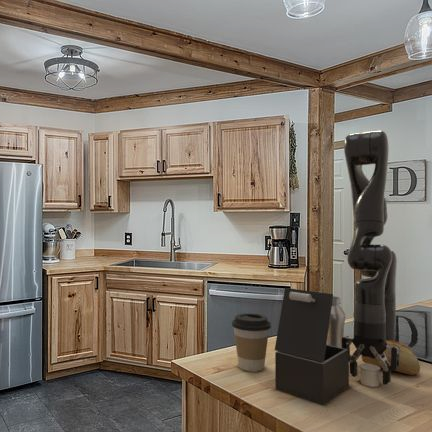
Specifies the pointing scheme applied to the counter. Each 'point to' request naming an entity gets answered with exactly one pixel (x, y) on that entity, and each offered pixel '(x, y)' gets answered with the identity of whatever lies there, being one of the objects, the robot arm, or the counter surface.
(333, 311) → the plastic bottle
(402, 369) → the bread roll
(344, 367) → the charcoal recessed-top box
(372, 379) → the coffee pod
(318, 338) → the charcoal box lid
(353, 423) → the counter surface
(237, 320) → the coffee cup
